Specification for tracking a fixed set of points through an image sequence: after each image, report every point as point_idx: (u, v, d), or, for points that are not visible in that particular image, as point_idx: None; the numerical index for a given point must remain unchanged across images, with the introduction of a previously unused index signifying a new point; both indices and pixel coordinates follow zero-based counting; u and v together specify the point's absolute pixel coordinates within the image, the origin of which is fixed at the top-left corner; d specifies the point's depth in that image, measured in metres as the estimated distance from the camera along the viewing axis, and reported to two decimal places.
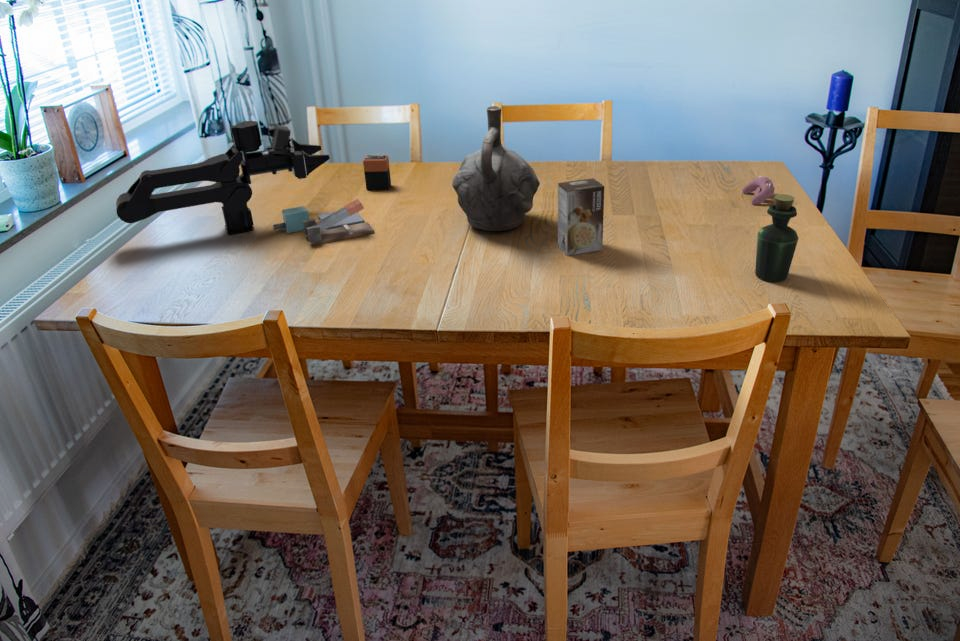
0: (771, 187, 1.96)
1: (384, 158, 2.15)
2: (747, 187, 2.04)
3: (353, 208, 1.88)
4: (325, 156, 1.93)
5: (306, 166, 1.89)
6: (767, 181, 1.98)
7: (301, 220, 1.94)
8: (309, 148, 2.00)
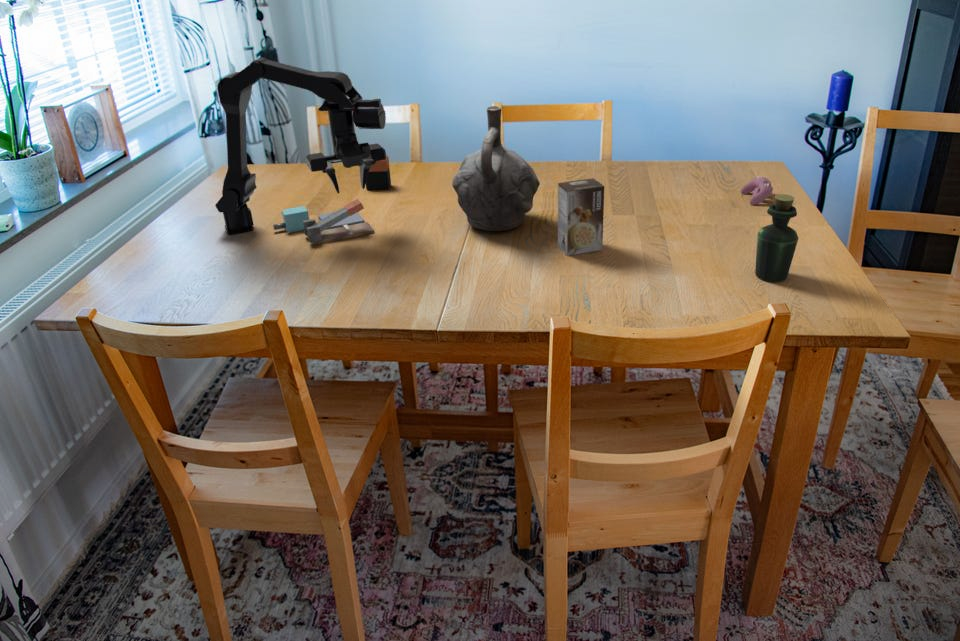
0: (769, 187, 1.96)
1: None
2: (745, 187, 2.04)
3: (353, 208, 1.88)
4: (336, 189, 1.85)
5: None
6: (765, 181, 1.98)
7: (301, 220, 1.94)
8: (362, 176, 1.87)
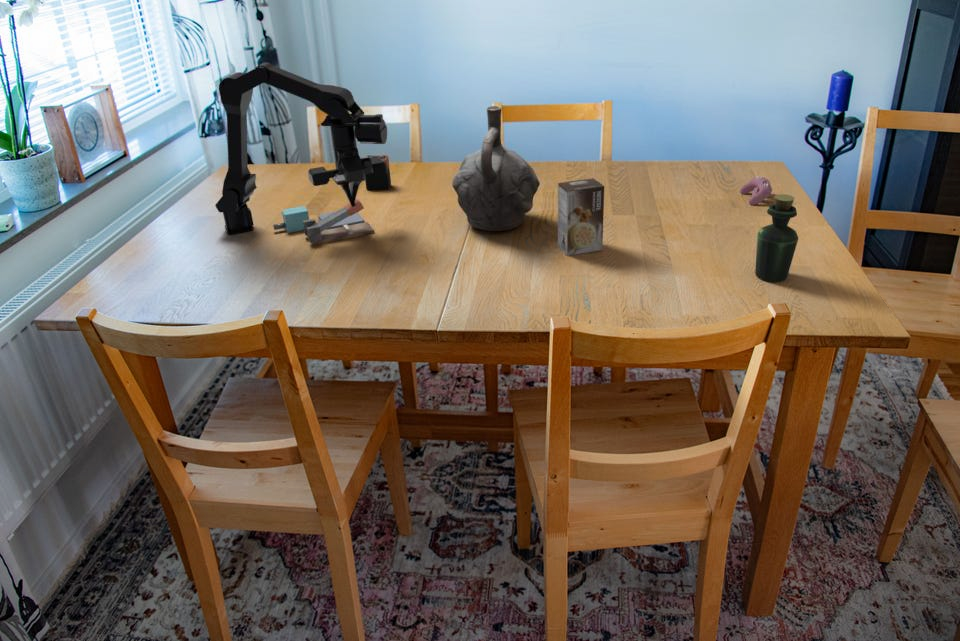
0: (768, 187, 1.96)
1: (384, 158, 2.15)
2: (745, 187, 2.04)
3: (353, 208, 1.88)
4: (349, 201, 1.88)
5: (334, 180, 1.85)
6: (764, 181, 1.98)
7: (301, 220, 1.94)
8: (352, 192, 1.87)
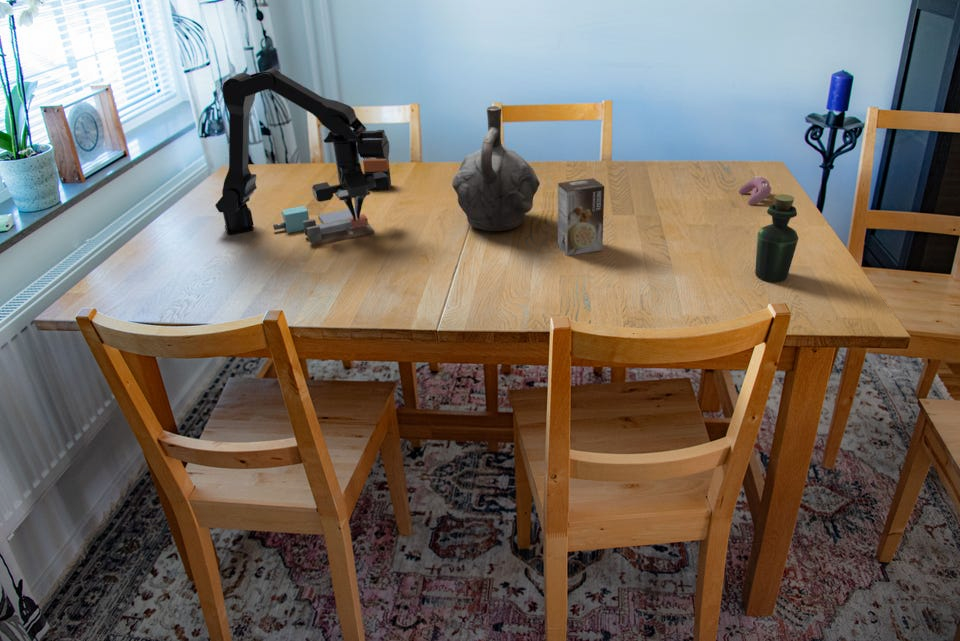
0: (768, 187, 1.96)
1: None
2: (744, 187, 2.04)
3: (358, 221, 1.90)
4: (352, 215, 1.90)
5: (337, 195, 1.87)
6: (763, 181, 1.98)
7: (301, 220, 1.94)
8: (357, 206, 1.89)
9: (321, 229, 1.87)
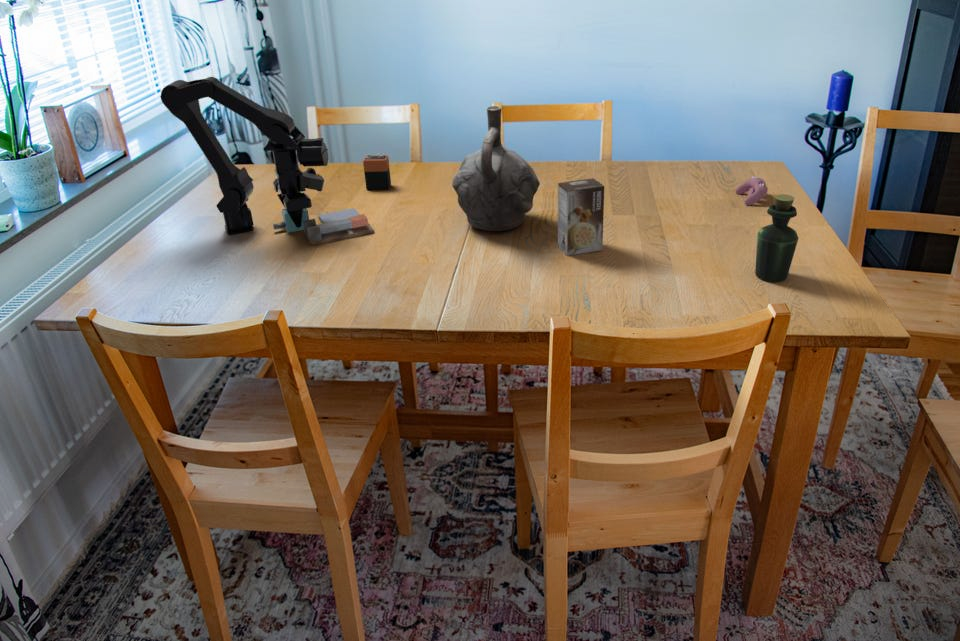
0: (764, 187, 1.96)
1: (384, 158, 2.15)
2: (740, 188, 2.04)
3: (358, 221, 1.90)
4: (300, 223, 1.93)
5: None
6: (760, 181, 1.98)
7: None
8: None
9: (321, 229, 1.87)
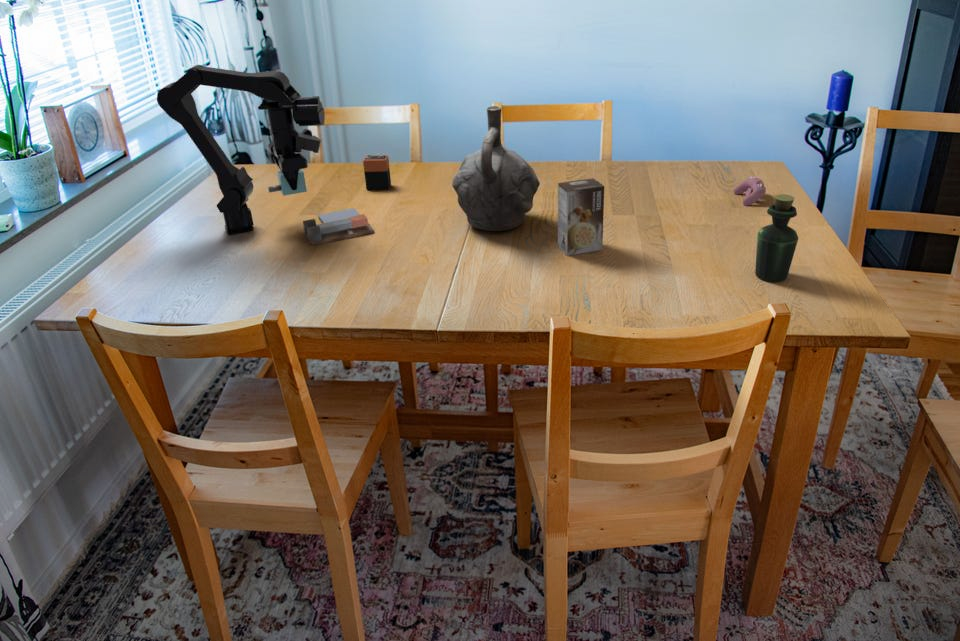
0: (762, 188, 1.96)
1: (384, 158, 2.15)
2: (738, 188, 2.04)
3: (358, 221, 1.90)
4: (296, 186, 1.89)
5: None
6: (758, 182, 1.98)
7: (297, 182, 1.89)
8: None
9: (321, 229, 1.87)
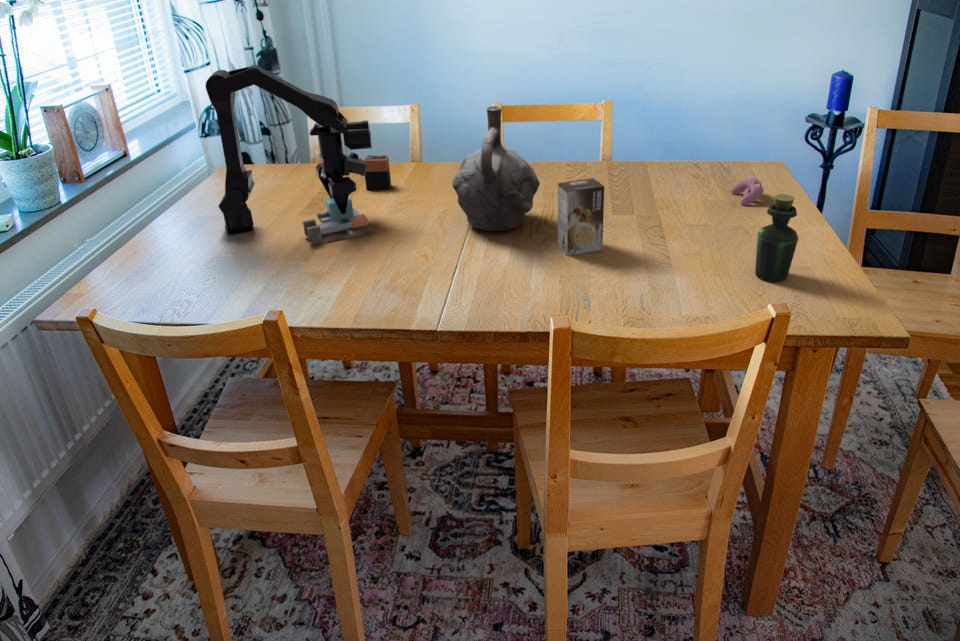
0: (760, 188, 1.96)
1: (384, 158, 2.15)
2: (736, 188, 2.04)
3: (358, 221, 1.90)
4: (345, 210, 1.94)
5: None
6: (756, 182, 1.98)
7: None
8: None
9: (321, 229, 1.87)
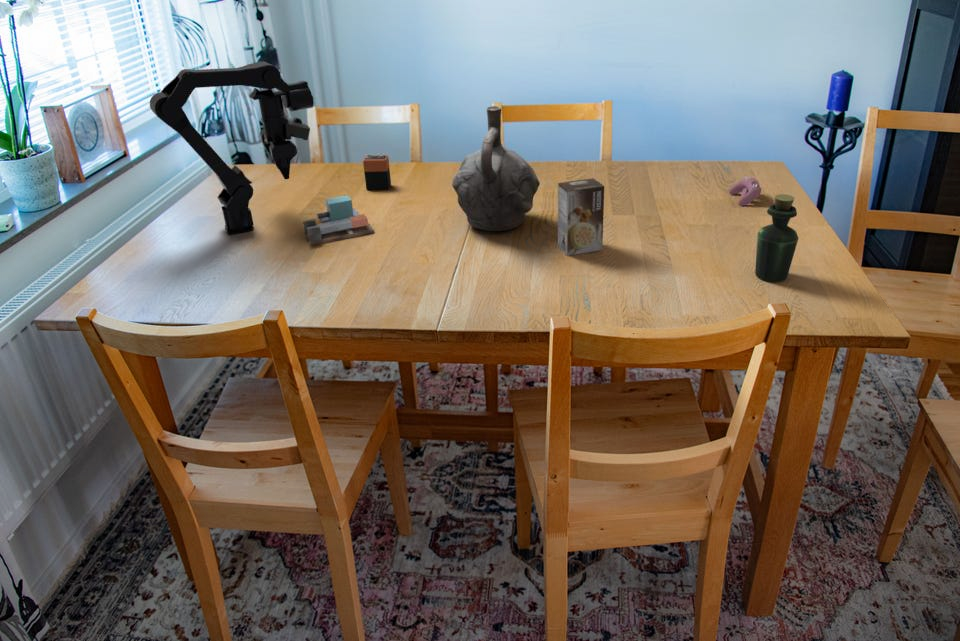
0: (758, 188, 1.96)
1: (384, 158, 2.15)
2: (734, 188, 2.04)
3: (358, 221, 1.90)
4: (288, 175, 1.93)
5: (283, 157, 1.88)
6: (754, 182, 1.98)
7: (345, 209, 1.96)
8: None
9: (321, 229, 1.87)
